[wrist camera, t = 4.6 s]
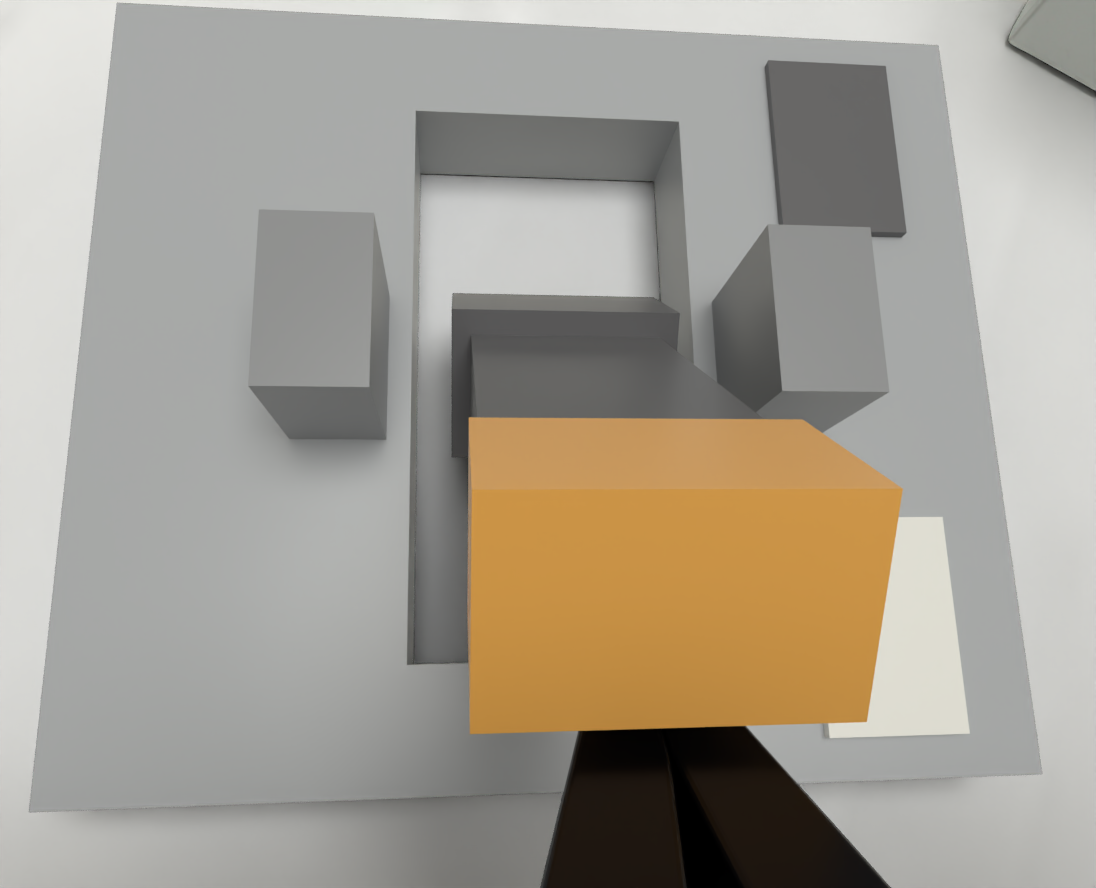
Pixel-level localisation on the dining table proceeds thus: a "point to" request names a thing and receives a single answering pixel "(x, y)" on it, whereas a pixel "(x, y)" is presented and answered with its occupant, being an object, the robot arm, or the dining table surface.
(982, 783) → the dining table surface
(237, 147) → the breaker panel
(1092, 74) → the small box
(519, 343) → the lever
